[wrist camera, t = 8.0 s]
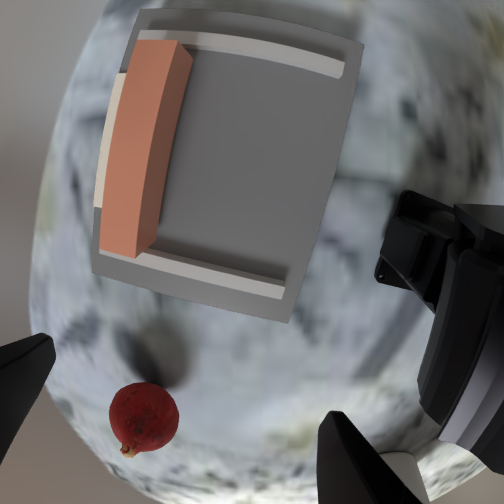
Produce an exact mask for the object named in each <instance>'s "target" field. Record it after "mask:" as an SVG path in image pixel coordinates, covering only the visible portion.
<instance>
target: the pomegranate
mask: <svg viewBox="0 0 504 504" xmlns="http://www.w3.org/2000/svg"><path fill="white" fill-rule="evenodd" d="M109 420H110V424H111V428H112V430H113V432H114V434H115V436H116V437H117V439H118V440H119V441H120V442H121V443H122V448H121V449H120V451H121V452H122V454H123V455H124V456H125V457H131V458H133V457H134V456H135V455H136V454H138V453H139V452H147V451H154V450H157V449H159V448H162V447H163V446H164V445H166V444H167V443H168V442H169V441H170V440H171V439H172V438H173V437H174V435H175V433H176V431H177V428H178V423H179V412H178V409H177V406H176V404H175V401H174V399H173V398H172V397H171V395H170V394H169V393H168V392H167V391H166V390H165V389H163V388H161V387H160V386H158V385H156V384H152V383H148V382H141V383H133V384H130V385H128V386H126V387H123V388H121V389H120V390H119V391H118V392H117V393H116V394H115V396H114V398H113V401H112V403H111V406H110V409H109Z"/></svg>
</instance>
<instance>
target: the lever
mask: <svg viewBox="0 0 504 504" xmlns="http://www.w3.org/2000/svg"><path fill="white" fill-rule="evenodd" d="M192 63H193V58H192V57H191V55H190V54H189V53H188V52H187V51H186V50H185V48H184V47H183V46H182V45H181V44H180V42H179V41H177V40H137V41H136V44H135V47H134V50H133V53H132V56H131V60H130V63H129V66H128V70H127V73H126V77H125V81H124V84H123V88H122V92H121V96H120V100H119V105H118V109H117V113H116V118H115V123H114V128H113V133H112V138H111V144H110V150H109V156H108V162H107V169H106V176H105V184H104V193H103V202H102V213H101V226H100V243H99V249H101V250H105V251H108V252H112V253H115V254H119V255H123V256H126V257H130V258H134V259H135V258H137V257H138V256H139V255H140V254H141V253H142V252H143V251H145V250H146V249H147V248H148V247H149V246H150V245H151V244H153V243H154V242H155V241H156V237H157V229H158V222H159V215H160V209H161V202H162V196H163V190H164V184H165V179H166V173H167V168H168V163H169V157H170V152H171V148H172V143H173V138H174V133H175V129H176V125H177V120H178V116H179V112H180V108H181V104H182V100H183V96H184V92H185V88H186V84H187V81H188V77H189V73H190V70H191V66H192Z"/></svg>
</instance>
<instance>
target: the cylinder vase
mask: <svg viewBox="0 0 504 504" xmlns="http://www.w3.org/2000/svg"><path fill="white" fill-rule="evenodd" d="M379 455H380V456H381V457H382V459H383V460H384V461H385V462H386V463H387V464H388V466H389V467H390V468H391V469H392V470H393V471H394V472H395V474H396V475H397V476H398V477H399V478H400V479H401V480H402V482H403V483H404V484H405V486H407V487H408V488H409V489H410V490H411V492H412V493H413V494H414V495H415V496H416V497H417V498H418V499H419V500H420V501H421V502H422V503H423V504H430V502H429V498H428V495H427V492H426V489H425V486H424V483H423V480H422V477H421V474H420V471H419V468H418V466H417V463H416V460H415V458H414V457H413V456H412V455H411V454H409V453H405V452H390V453H384V454H379Z"/></svg>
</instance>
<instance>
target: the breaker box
mask: <svg viewBox="0 0 504 504" xmlns="http://www.w3.org/2000/svg"><path fill="white" fill-rule="evenodd" d="M137 40H177V41H179V42H180V44H181V45H182V46H183V47H184V48H185V50H186V51H187V52H188V53H189V54H190V55H191V57H192V58H193V63H192V66H191V70H190V73H189V77H188V81H187V84H186V88H185V92H184V96H183V100H182V104H181V108H180V112H179V116H178V120H177V125H176V129H175V133H174V138H173V143H172V148H171V152H170V157H169V163H168V168H167V173H166V179H165V184H164V190H163V196H162V202H161V209H160V215H159V222H158V229H157V237H156V241H155V242H154V243H153V244H151V245H150V246H149V247H148V248H147V249H146V250H145V251H143V252H142V253H141V254H140V255H139V256H138V257H137V258H135V259H134V258H130V257H126V256H123V255H119V254H115V253H112V252H108V251H105V250H101V249H99V243H100V226H101V213H102V202H103V193H104V184H105V176H106V169H107V162H108V156H109V150H110V144H111V138H112V133H113V128H114V123H115V118H116V113H117V109H118V105H119V100H120V96H121V92H122V88H123V84H124V81H125V77H126V73H127V70H128V66H129V63H130V60H131V56H132V53H133V50H134V47H135V44H136V41H137ZM363 49H364V44H361V43H358V42H355V41H353V40H350V39H347V38H344V37H341V36H338V35H335V34H331V33H328V32H325V31H321V30H318V29H314V28H311V27H307V26H303V25H299V24H295V23H290V22H286V21H281V20H277V19H271V18H266V17H260V16H254V15H248V14H241V13H233V12H224V11H214V10H201V9H172V8H164V9H140V11H139V14H138V17H137V19H136V22H135V25H134V27H133V30H132V33H131V36H130V39H129V42H128V45H127V48H126V51H125V54H124V57H123V60H122V64H121V67H120V71H119V73H117V75H116V79H115V83H114V86H113V90H112V94H111V98H110V103H109V107H108V112H107V116H106V121H105V126H104V131H103V137H102V142H101V148H100V155H99V161H98V168H97V176H96V184H95V194H94V204H93V206H95V212H94V226H93V247H92V273H95V274H98V275H101V276H105V277H108V278H111V279H114V280H118V281H121V282H124V283H128V284H131V285H134V286H138V287H141V288H145V289H148V290H152V291H155V292H159V293H162V294H166V295H170V296H173V297H177V298H181V299H185V300H189V301H192V302H196V303H200V304H204V305H208V306H212V307H216V308H221V309H225V310H229V311H233V312H237V313H242V314H246V315H251V316H255V317H260V318H264V319H269V320H274V321H278V322H283V323H289V320H290V317H291V314H292V311H293V308H294V305H295V302H296V299H297V296H298V293H299V290H300V287H301V284H302V281H303V278H304V275H305V272H306V269H307V266H308V263H309V260H310V257H311V253H312V250H313V247H314V244H315V241H316V237H317V234H318V231H319V227H320V224H321V221H322V217H323V214H324V210H325V207H326V203H327V200H328V196H329V193H330V189H331V186H332V182H333V178H334V175H335V171H336V167H337V163H338V159H339V156H340V152H341V148H342V144H343V140H344V136H345V132H346V128H347V123H348V119H349V115H350V111H351V106H352V102H353V98H354V93H355V88H356V84H357V79H358V74H359V69H360V65H361V59H362V54H363Z"/></svg>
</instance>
